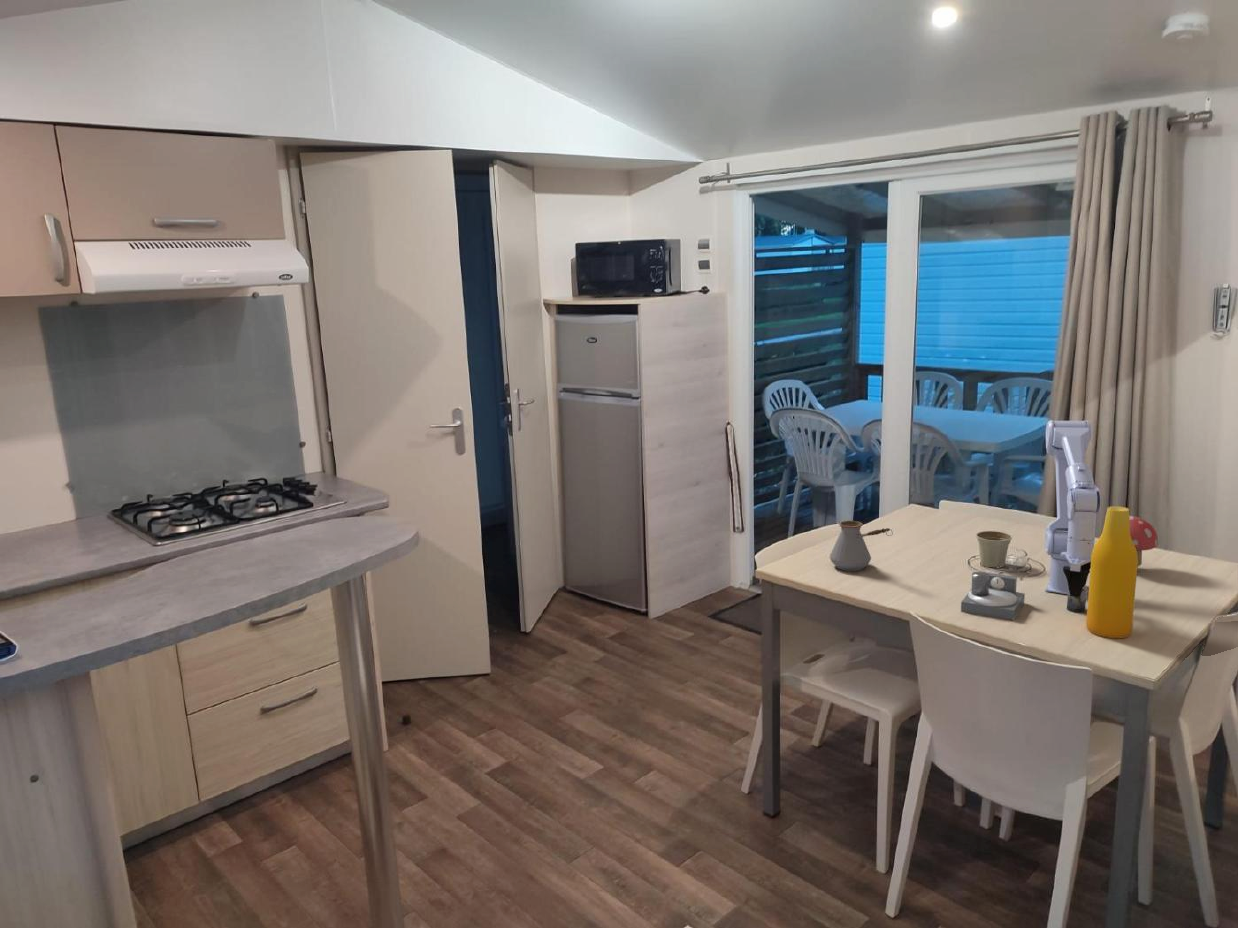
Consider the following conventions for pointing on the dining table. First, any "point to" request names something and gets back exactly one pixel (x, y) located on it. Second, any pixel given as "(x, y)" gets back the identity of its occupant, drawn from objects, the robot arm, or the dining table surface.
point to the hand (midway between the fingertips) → (1077, 591)
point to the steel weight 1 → (980, 584)
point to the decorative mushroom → (1142, 536)
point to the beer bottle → (1113, 578)
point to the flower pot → (993, 547)
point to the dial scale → (996, 599)
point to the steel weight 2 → (1077, 602)
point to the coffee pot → (852, 547)
